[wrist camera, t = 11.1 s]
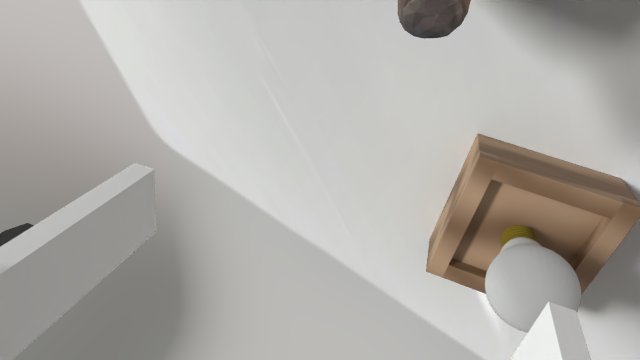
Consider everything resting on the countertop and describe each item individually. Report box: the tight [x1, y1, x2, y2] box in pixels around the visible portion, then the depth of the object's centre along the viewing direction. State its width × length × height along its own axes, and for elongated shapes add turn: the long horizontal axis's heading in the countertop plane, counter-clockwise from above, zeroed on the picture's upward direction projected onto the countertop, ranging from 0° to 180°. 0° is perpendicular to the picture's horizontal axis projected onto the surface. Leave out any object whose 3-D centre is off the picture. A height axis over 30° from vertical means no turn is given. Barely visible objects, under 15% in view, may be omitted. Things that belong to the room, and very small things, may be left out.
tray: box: [426, 134, 640, 295], centre depth 36 cm, size 12×12×5 cm
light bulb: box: [485, 225, 581, 332], centre depth 30 cm, size 6×6×10 cm
